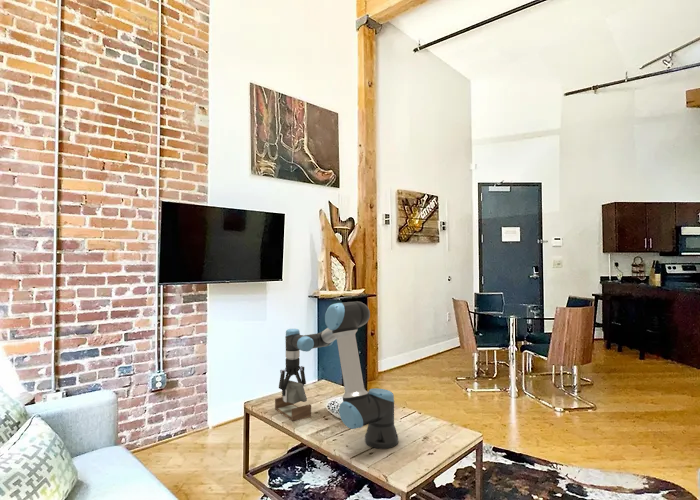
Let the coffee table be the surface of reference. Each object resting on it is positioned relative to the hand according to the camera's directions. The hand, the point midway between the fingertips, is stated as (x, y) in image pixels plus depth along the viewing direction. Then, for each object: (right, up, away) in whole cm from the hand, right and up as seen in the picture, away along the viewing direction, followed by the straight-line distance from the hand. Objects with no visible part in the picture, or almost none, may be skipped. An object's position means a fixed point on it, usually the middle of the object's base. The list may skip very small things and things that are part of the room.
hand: (292, 399), depth 222 cm
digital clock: (0, -1, 0) cm, 1 cm away
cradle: (0, -7, 0) cm, 7 cm away
